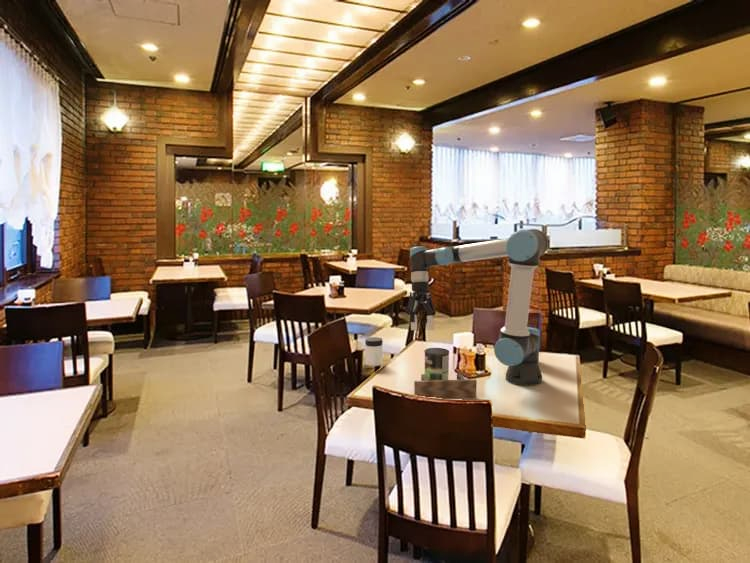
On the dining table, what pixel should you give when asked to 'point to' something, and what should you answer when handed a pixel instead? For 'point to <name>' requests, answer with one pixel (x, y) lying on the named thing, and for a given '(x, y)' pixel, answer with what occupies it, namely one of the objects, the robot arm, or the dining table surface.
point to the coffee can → (436, 363)
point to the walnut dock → (446, 387)
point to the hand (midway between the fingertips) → (422, 330)
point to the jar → (373, 351)
